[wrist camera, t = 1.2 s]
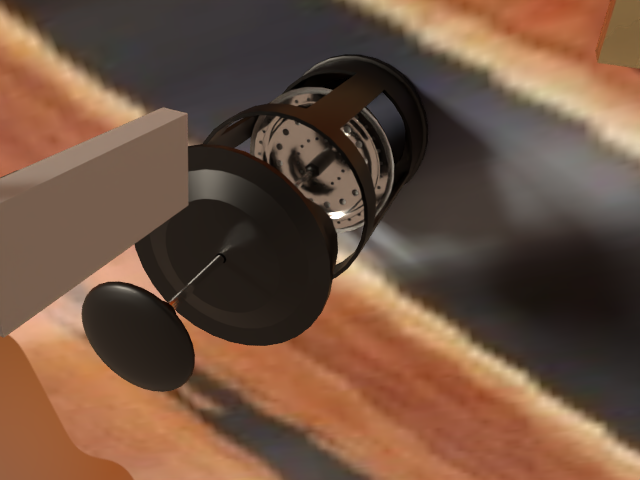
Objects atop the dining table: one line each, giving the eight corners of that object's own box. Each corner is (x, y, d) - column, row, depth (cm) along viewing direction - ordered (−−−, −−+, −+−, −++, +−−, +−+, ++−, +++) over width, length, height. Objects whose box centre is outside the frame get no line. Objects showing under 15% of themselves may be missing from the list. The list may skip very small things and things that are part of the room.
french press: (326, 13, 34) (26, 127, 16) (464, 94, 34) (324, 315, 15) (259, 171, 41) (-7, 383, 22) (373, 241, 40) (197, 522, 21)
